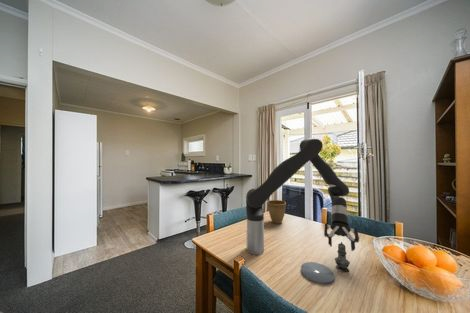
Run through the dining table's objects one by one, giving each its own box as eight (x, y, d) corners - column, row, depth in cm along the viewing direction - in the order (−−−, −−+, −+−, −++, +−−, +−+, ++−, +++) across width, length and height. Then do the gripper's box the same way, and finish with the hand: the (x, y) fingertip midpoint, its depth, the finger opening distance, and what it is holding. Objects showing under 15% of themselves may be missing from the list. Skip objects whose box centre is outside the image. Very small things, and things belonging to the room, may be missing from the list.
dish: (308, 284, 68) (308, 281, 68) (296, 264, 81) (296, 262, 81) (341, 283, 68) (341, 280, 68) (323, 264, 81) (323, 261, 81)
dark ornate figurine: (344, 274, 74) (343, 246, 74) (331, 266, 79) (331, 240, 80) (353, 270, 76) (352, 243, 77) (340, 263, 82) (339, 238, 82)
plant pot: (271, 217, 148) (271, 199, 148) (289, 221, 139) (288, 201, 140) (264, 223, 136) (263, 202, 136) (282, 227, 127) (282, 205, 128)
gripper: (324, 210, 91) (323, 241, 81) (356, 214, 84) (361, 248, 74) (324, 217, 96) (324, 247, 85) (355, 221, 89) (359, 255, 79)
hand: (341, 248), depth 80 cm, fingers open, 8 cm apart
